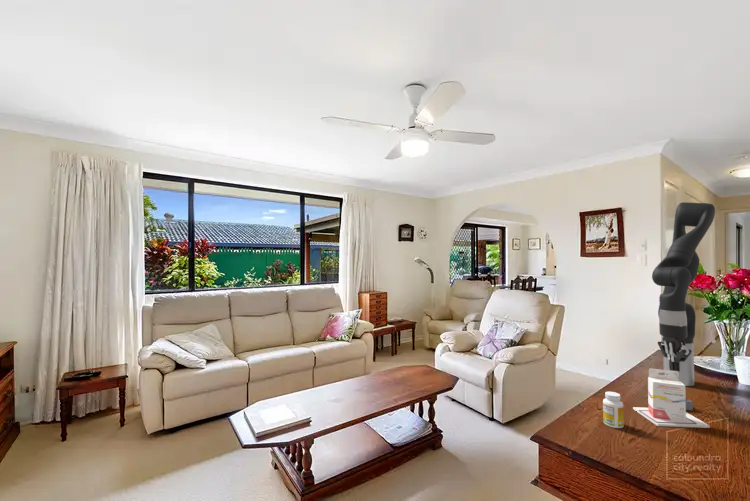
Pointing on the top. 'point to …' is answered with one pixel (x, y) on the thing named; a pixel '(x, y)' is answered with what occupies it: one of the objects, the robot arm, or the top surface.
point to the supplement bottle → (613, 410)
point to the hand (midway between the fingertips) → (674, 371)
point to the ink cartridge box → (666, 395)
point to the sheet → (690, 420)
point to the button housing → (689, 405)
